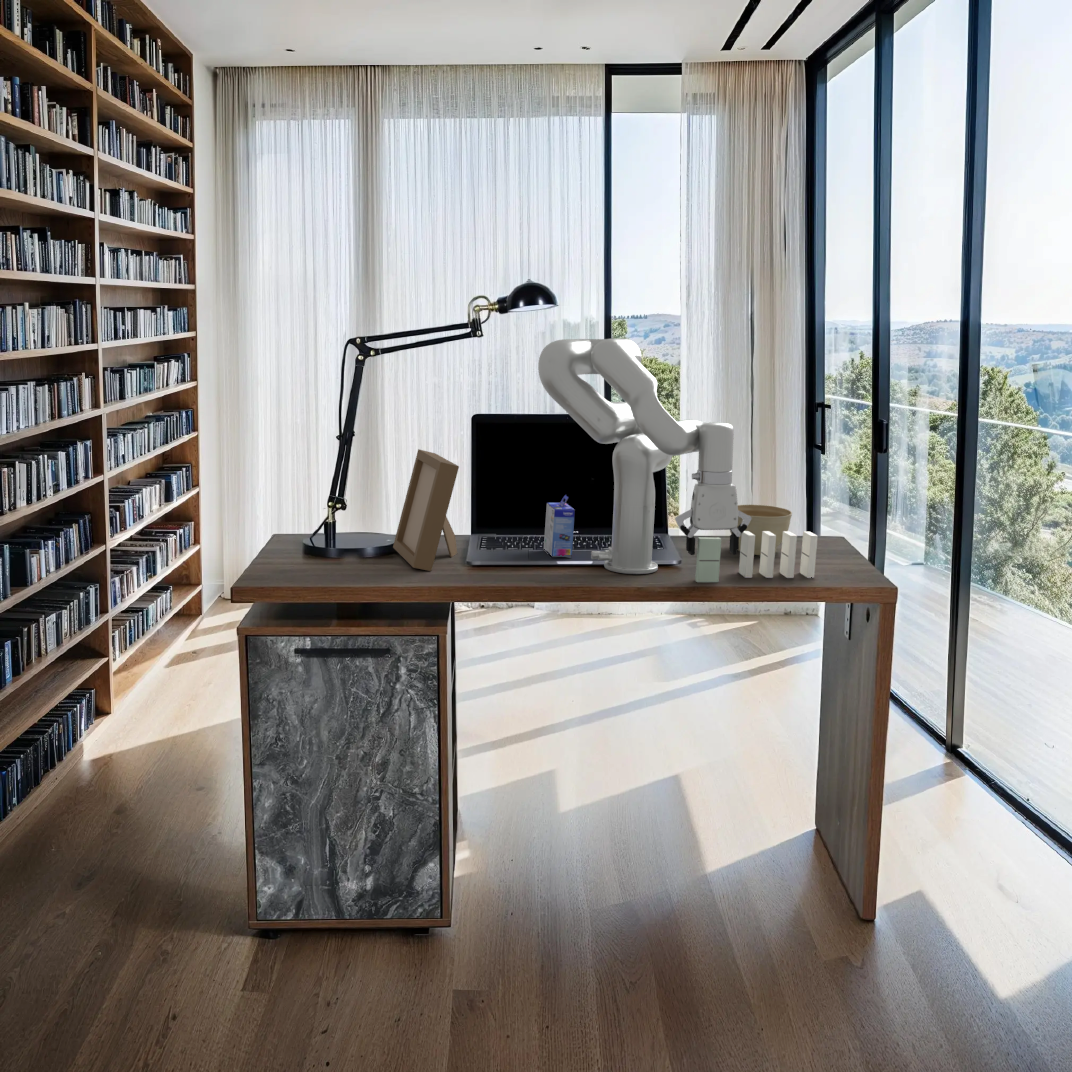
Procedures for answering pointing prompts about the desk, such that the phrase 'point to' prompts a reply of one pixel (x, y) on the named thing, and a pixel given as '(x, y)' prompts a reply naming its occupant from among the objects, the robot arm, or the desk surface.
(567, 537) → the ink cartridge box
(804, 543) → the domino
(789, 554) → the domino
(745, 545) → the domino
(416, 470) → the photo frame
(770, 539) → the domino
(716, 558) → the domino
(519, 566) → the desk surface
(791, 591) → the desk surface
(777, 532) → the planter bowl
